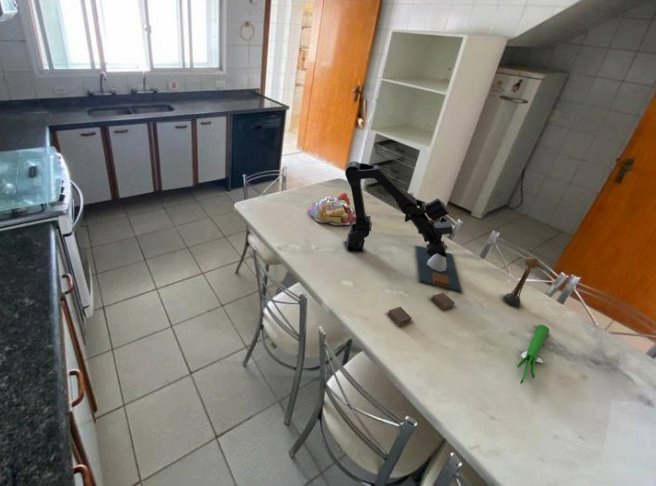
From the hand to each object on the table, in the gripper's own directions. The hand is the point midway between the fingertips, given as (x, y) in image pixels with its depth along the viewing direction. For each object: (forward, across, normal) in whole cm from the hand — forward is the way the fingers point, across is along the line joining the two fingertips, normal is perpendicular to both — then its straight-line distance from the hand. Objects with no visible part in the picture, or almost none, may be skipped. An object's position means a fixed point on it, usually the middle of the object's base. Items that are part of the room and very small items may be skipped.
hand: (445, 254), depth 130 cm
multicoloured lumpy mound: (-28, +25, +40) cm, 55 cm away
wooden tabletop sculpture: (+22, -10, -11) cm, 26 cm away
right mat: (+4, 0, +6) cm, 8 cm away
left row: (-1, -28, +11) cm, 30 cm away
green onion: (+21, -34, -10) cm, 41 cm away
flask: (+4, 0, +6) cm, 7 cm away
